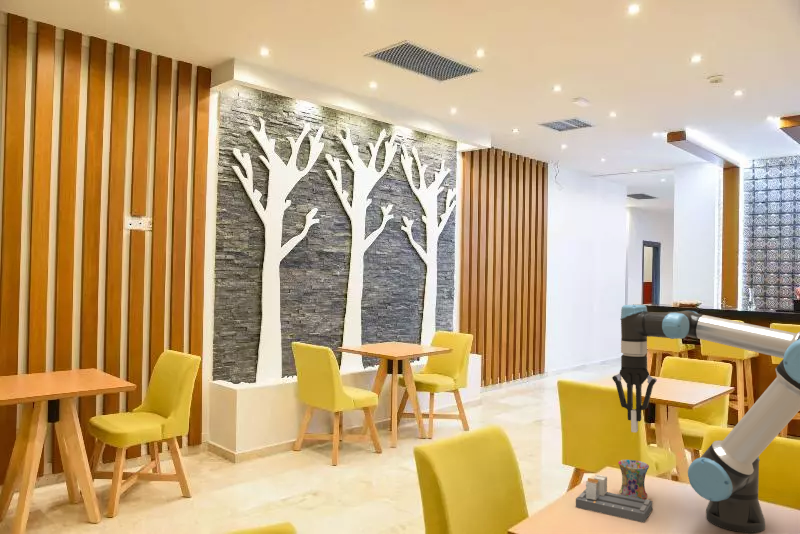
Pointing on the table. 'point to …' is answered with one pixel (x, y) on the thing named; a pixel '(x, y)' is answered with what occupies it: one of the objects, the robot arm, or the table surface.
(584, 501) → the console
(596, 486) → the fader
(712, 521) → the robot arm
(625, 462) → the mug
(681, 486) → the table surface
